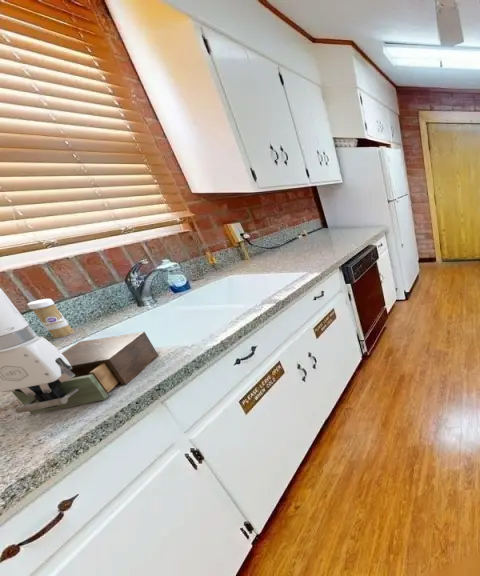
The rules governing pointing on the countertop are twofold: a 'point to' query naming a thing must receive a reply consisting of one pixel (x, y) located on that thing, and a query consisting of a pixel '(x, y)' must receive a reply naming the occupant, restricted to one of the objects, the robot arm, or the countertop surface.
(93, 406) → the countertop surface
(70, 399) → the drawer
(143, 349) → the cabinet
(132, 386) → the countertop surface
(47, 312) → the sprinkles bottle
